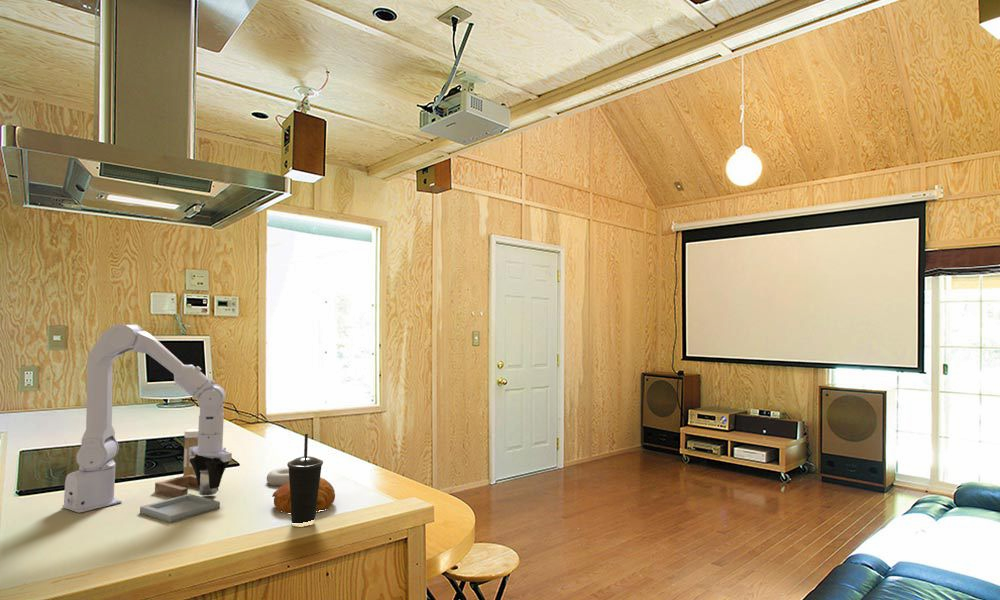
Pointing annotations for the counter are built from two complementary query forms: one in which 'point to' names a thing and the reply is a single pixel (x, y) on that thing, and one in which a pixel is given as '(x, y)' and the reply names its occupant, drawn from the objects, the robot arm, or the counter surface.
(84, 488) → the robot arm
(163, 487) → the notch block
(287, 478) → the donut
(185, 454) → the sprinkles bottle
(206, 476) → the salt shaker
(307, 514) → the drinking cup
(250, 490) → the counter surface
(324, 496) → the croissant
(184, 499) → the dish
